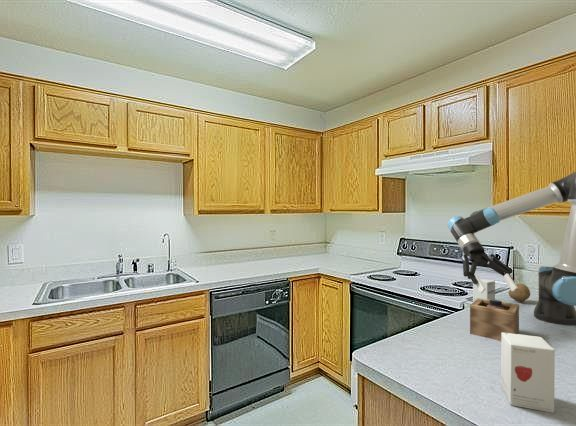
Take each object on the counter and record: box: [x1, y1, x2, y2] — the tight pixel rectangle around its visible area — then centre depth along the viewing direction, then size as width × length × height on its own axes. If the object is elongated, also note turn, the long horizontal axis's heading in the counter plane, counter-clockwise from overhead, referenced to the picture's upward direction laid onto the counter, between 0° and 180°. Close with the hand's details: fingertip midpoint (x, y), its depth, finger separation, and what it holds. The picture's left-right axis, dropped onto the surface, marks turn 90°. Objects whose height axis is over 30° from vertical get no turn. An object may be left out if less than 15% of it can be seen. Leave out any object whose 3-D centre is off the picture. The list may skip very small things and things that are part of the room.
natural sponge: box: [508, 282, 531, 303], centre depth 168 cm, size 9×9×10 cm
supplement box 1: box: [472, 278, 496, 303], centre depth 163 cm, size 7×7×13 cm
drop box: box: [469, 298, 520, 342], centre depth 125 cm, size 14×14×11 cm
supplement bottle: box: [487, 299, 504, 310], centre depth 125 cm, size 6×6×11 cm
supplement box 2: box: [500, 332, 556, 414], centre depth 80 cm, size 9×9×15 cm
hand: (499, 290), depth 123 cm, fingers open, 13 cm apart
